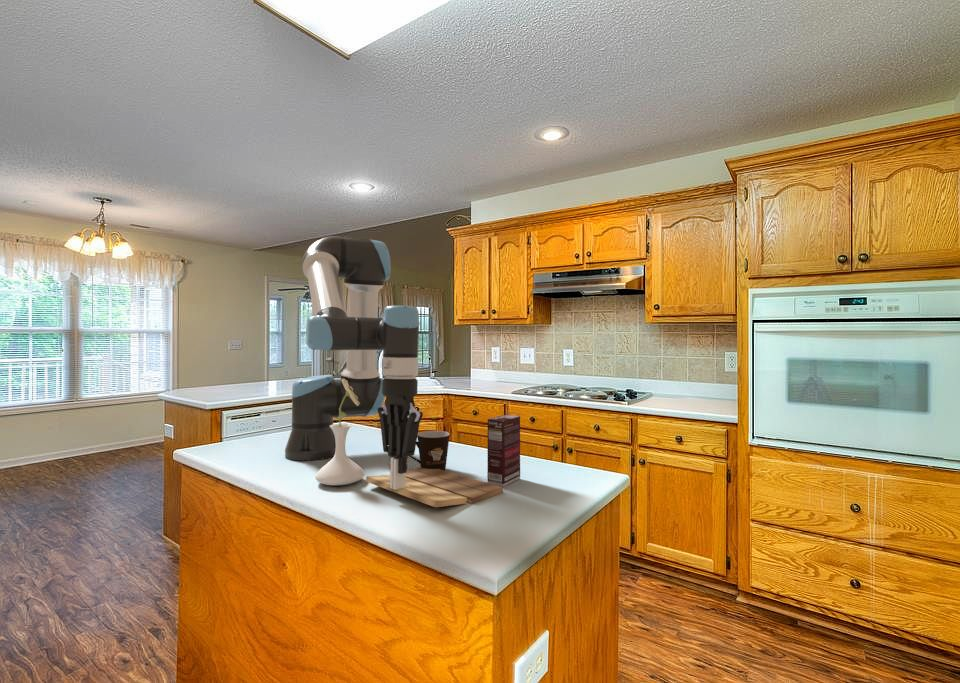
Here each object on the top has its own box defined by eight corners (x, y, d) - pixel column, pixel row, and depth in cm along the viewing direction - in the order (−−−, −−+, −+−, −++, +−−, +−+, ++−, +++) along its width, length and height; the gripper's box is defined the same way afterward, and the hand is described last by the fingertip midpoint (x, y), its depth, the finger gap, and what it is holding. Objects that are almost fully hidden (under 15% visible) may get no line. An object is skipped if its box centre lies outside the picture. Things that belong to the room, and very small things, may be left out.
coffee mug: (451, 467, 129) (452, 431, 129) (446, 476, 120) (446, 438, 120) (410, 466, 130) (410, 430, 130) (402, 475, 121) (402, 436, 121)
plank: (365, 481, 109) (366, 475, 110) (396, 479, 116) (397, 474, 116) (435, 507, 93) (435, 500, 93) (466, 503, 100) (466, 497, 100)
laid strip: (395, 478, 117) (395, 473, 117) (427, 470, 125) (427, 465, 125) (471, 504, 99) (471, 498, 99) (502, 492, 107) (502, 487, 107)
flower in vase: (359, 489, 108) (360, 381, 108) (308, 490, 108) (309, 381, 107) (369, 473, 121) (370, 376, 121) (324, 473, 121) (325, 376, 120)
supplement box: (504, 475, 121) (505, 413, 120) (520, 479, 118) (521, 415, 118) (485, 484, 113) (486, 418, 113) (502, 487, 111) (503, 420, 111)
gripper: (367, 376, 103) (365, 484, 103) (405, 379, 94) (403, 498, 93) (395, 375, 109) (393, 478, 108) (433, 378, 100) (431, 490, 99)
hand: (397, 487), depth 101 cm, fingers closed
